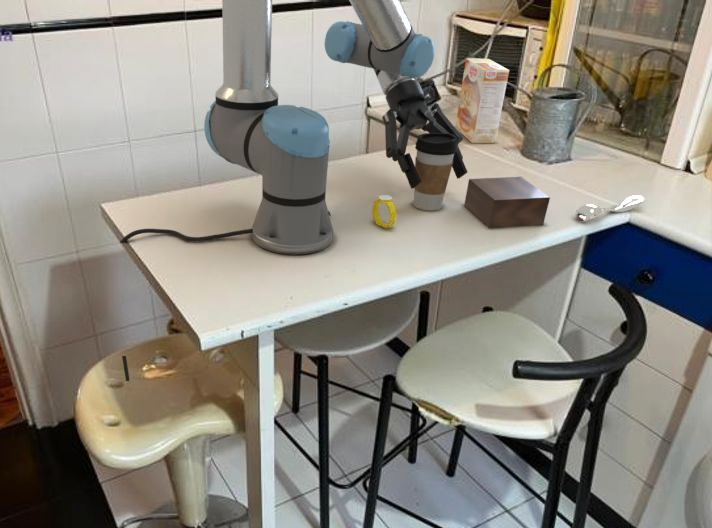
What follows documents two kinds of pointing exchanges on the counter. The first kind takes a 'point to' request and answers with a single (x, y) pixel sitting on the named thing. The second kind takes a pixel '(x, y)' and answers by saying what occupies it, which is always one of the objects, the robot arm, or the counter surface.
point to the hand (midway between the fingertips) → (439, 180)
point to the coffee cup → (433, 168)
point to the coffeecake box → (481, 100)
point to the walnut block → (506, 202)
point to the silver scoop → (592, 210)
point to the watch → (392, 210)
